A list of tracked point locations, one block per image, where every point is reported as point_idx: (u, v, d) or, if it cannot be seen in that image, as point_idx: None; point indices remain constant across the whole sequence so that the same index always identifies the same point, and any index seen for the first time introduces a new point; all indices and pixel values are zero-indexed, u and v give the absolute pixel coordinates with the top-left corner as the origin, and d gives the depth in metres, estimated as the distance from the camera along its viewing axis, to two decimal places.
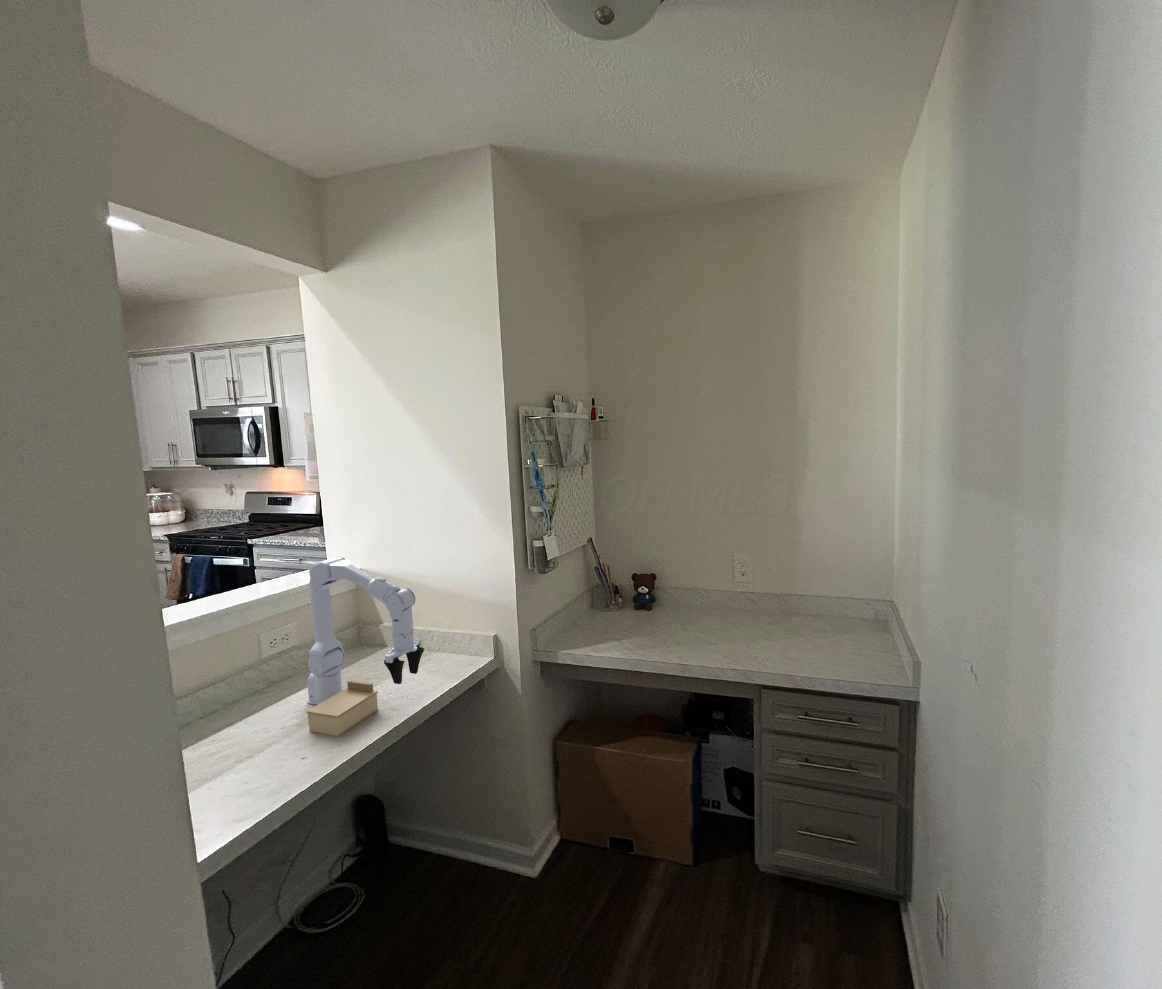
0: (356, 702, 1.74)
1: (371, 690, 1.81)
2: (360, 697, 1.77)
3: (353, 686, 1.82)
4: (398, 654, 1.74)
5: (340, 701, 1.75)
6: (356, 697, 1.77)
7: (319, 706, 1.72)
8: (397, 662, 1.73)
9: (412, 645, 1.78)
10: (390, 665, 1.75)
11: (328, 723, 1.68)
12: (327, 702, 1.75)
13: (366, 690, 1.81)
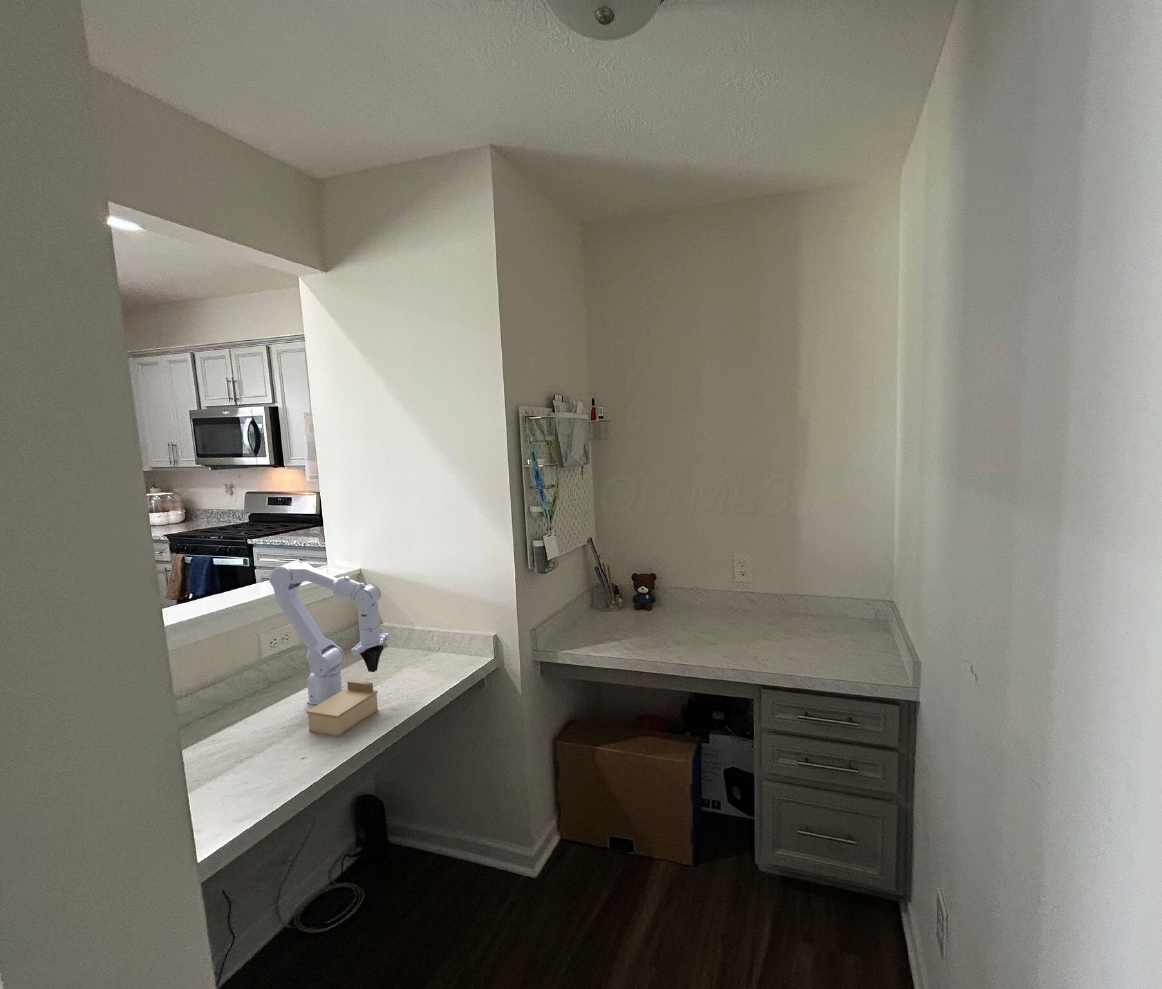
0: (356, 702, 1.74)
1: (371, 690, 1.81)
2: (360, 697, 1.77)
3: (353, 686, 1.82)
4: (364, 648, 1.81)
5: (340, 701, 1.75)
6: (356, 697, 1.77)
7: (319, 706, 1.72)
8: (371, 651, 1.84)
9: (378, 639, 1.85)
10: (364, 654, 1.86)
11: (328, 723, 1.68)
12: (327, 702, 1.75)
13: (366, 690, 1.81)
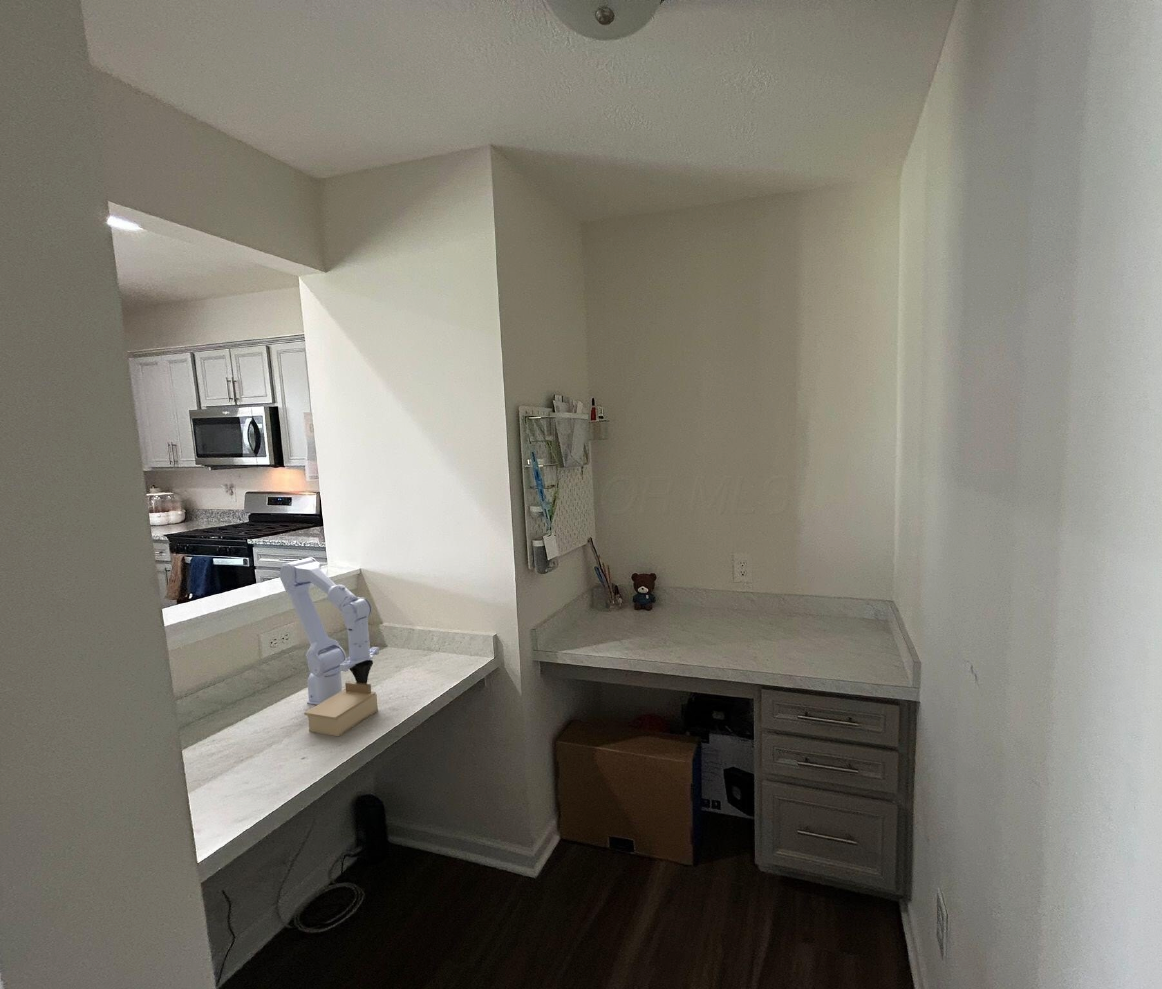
0: (354, 703, 1.73)
1: (369, 691, 1.80)
2: (358, 698, 1.76)
3: (351, 687, 1.81)
4: (353, 663, 1.77)
5: (338, 703, 1.74)
6: (354, 698, 1.77)
7: (317, 707, 1.71)
8: (360, 666, 1.80)
9: (368, 654, 1.81)
10: (354, 669, 1.81)
11: (328, 723, 1.68)
12: (325, 703, 1.74)
13: (364, 691, 1.80)
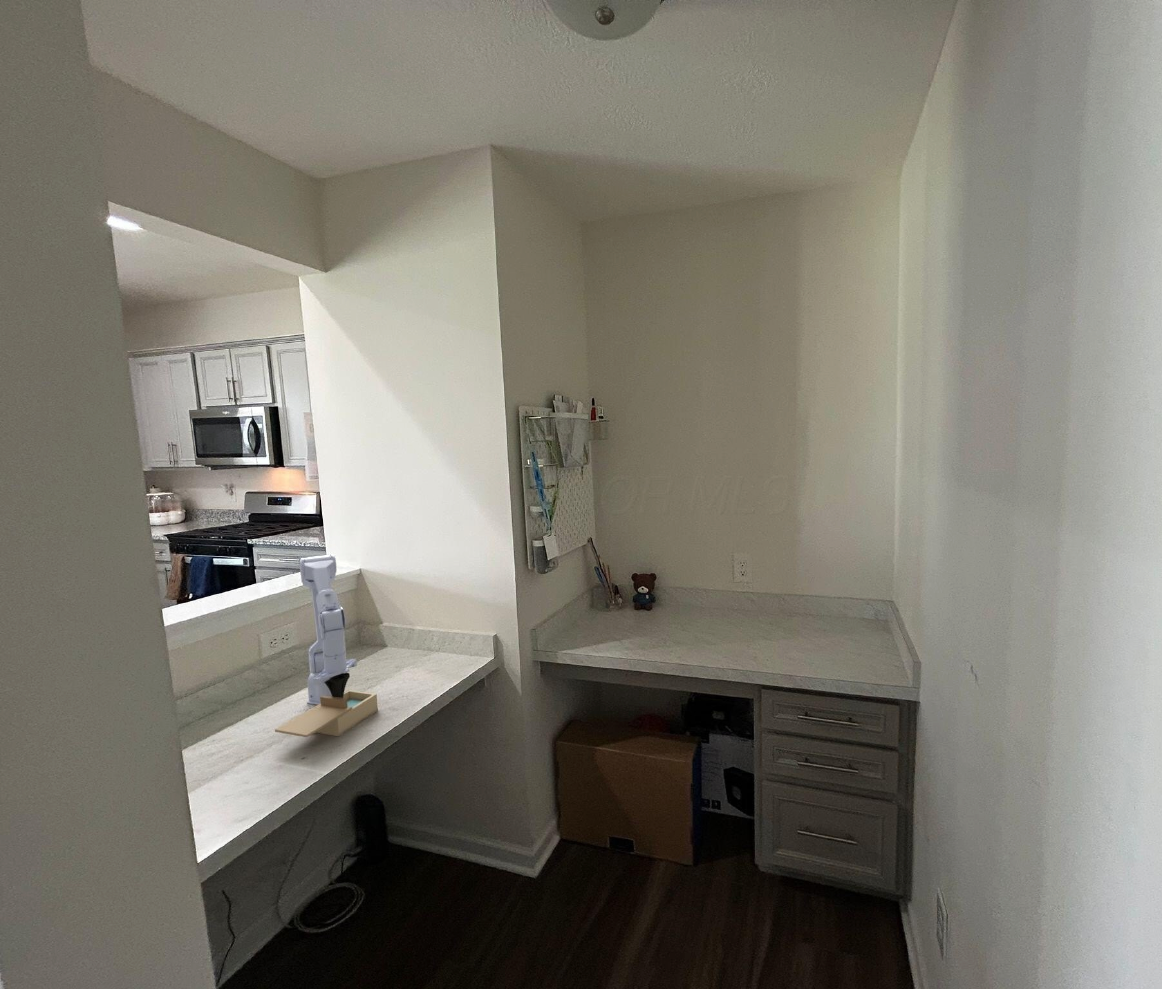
0: (328, 719, 1.64)
1: (345, 706, 1.71)
2: (333, 714, 1.67)
3: (326, 702, 1.72)
4: (328, 676, 1.68)
5: (312, 719, 1.65)
6: (329, 714, 1.67)
7: (288, 724, 1.62)
8: (336, 679, 1.71)
9: (344, 666, 1.72)
10: (329, 682, 1.72)
11: None
12: (297, 719, 1.65)
13: (340, 706, 1.71)
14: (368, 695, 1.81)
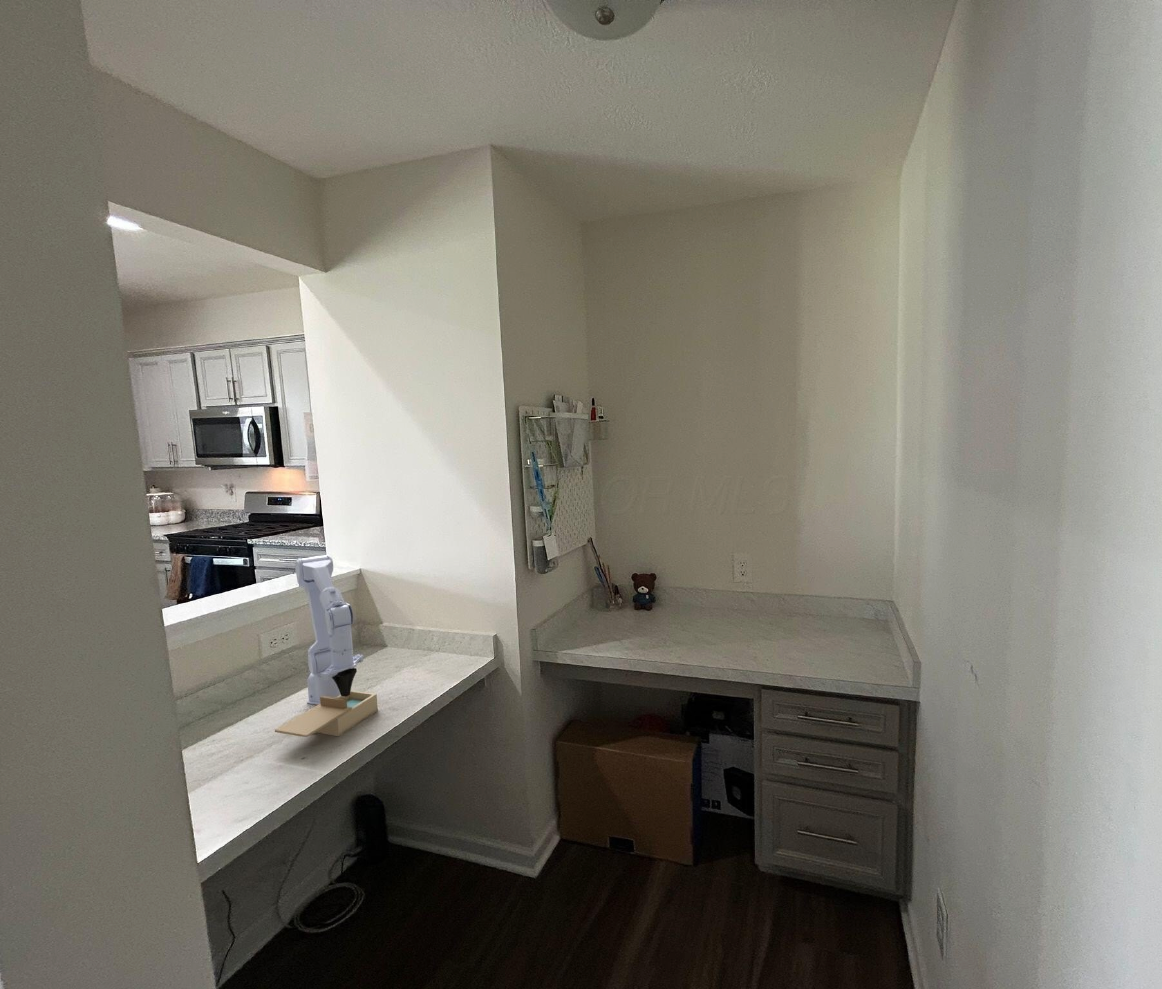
0: (328, 720, 1.64)
1: (345, 706, 1.71)
2: (333, 714, 1.67)
3: (326, 702, 1.72)
4: (335, 671, 1.71)
5: (311, 719, 1.65)
6: (328, 714, 1.67)
7: (288, 724, 1.62)
8: (343, 675, 1.73)
9: (351, 662, 1.75)
10: (337, 677, 1.75)
11: None
12: (297, 719, 1.65)
13: (340, 706, 1.71)
14: (368, 695, 1.81)
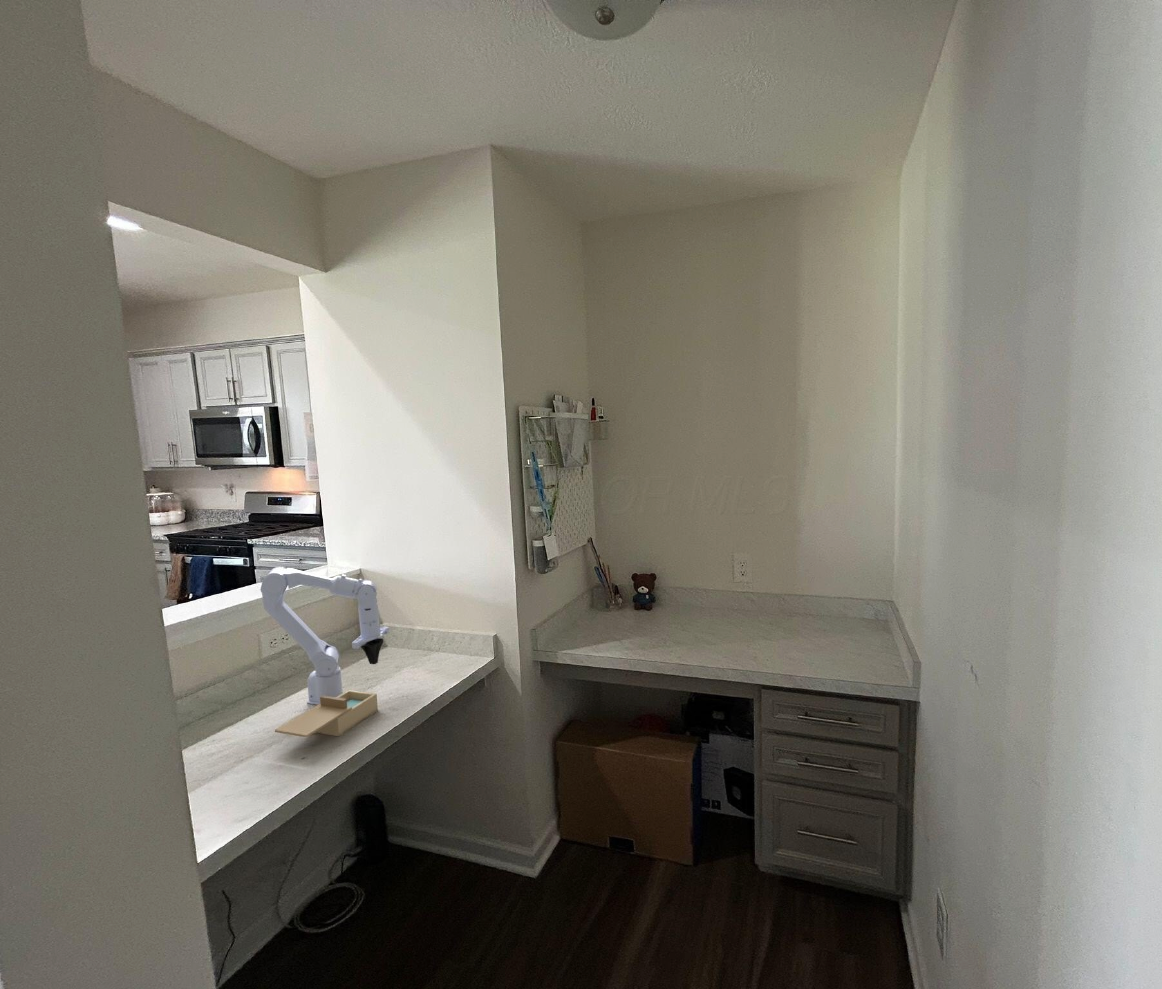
0: (328, 720, 1.64)
1: (345, 706, 1.71)
2: (333, 714, 1.67)
3: (326, 702, 1.72)
4: (364, 641, 1.87)
5: (311, 719, 1.65)
6: (328, 714, 1.67)
7: (288, 724, 1.62)
8: (371, 644, 1.90)
9: (378, 632, 1.91)
10: (365, 647, 1.91)
11: None
12: (297, 719, 1.65)
13: (340, 706, 1.71)
14: (368, 695, 1.81)
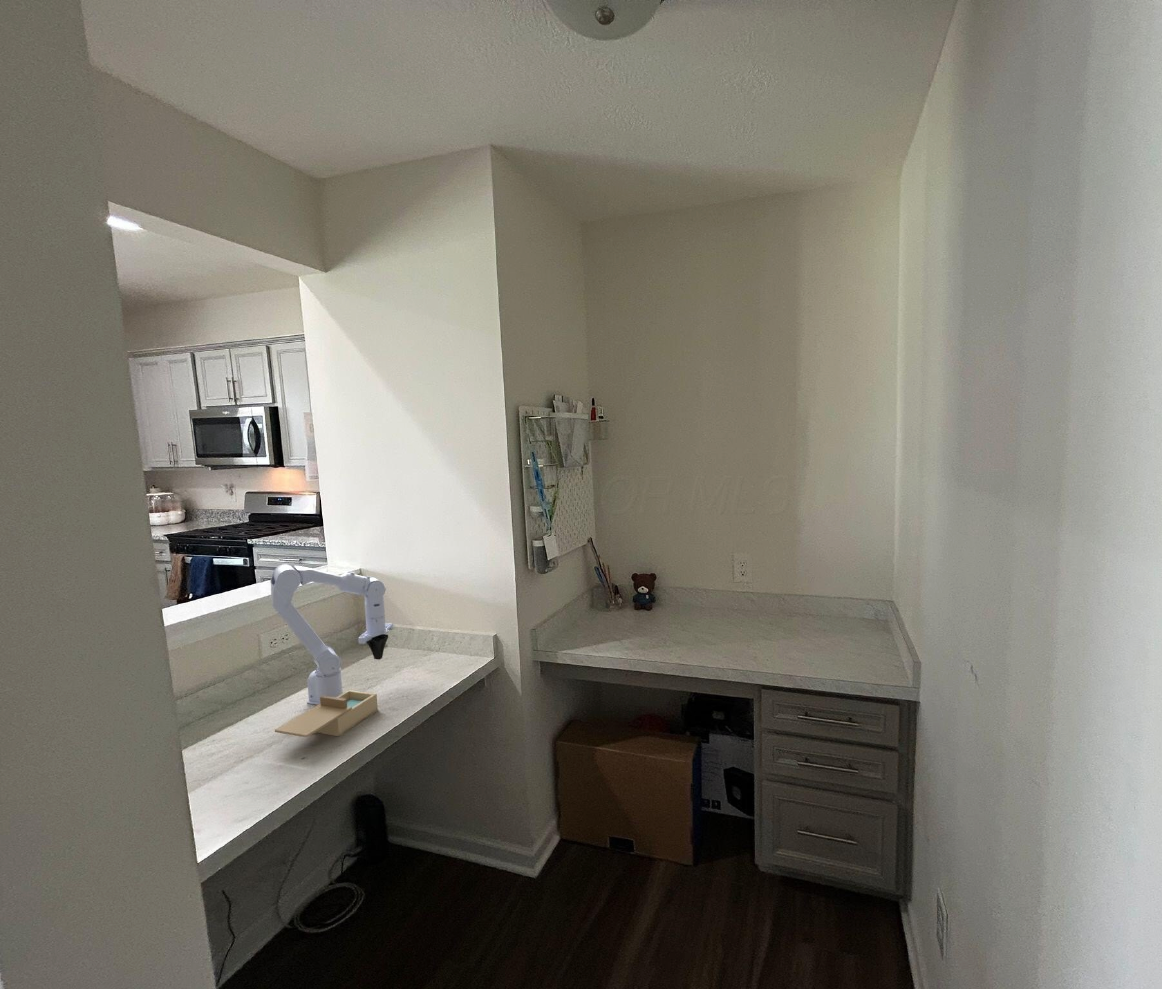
0: (328, 720, 1.64)
1: (345, 706, 1.71)
2: (333, 714, 1.67)
3: (326, 702, 1.72)
4: (370, 636, 1.92)
5: (311, 719, 1.65)
6: (328, 714, 1.67)
7: (288, 724, 1.62)
8: (377, 639, 1.94)
9: (383, 628, 1.96)
10: (371, 642, 1.96)
11: None
12: (297, 719, 1.65)
13: (340, 706, 1.71)
14: (368, 695, 1.81)
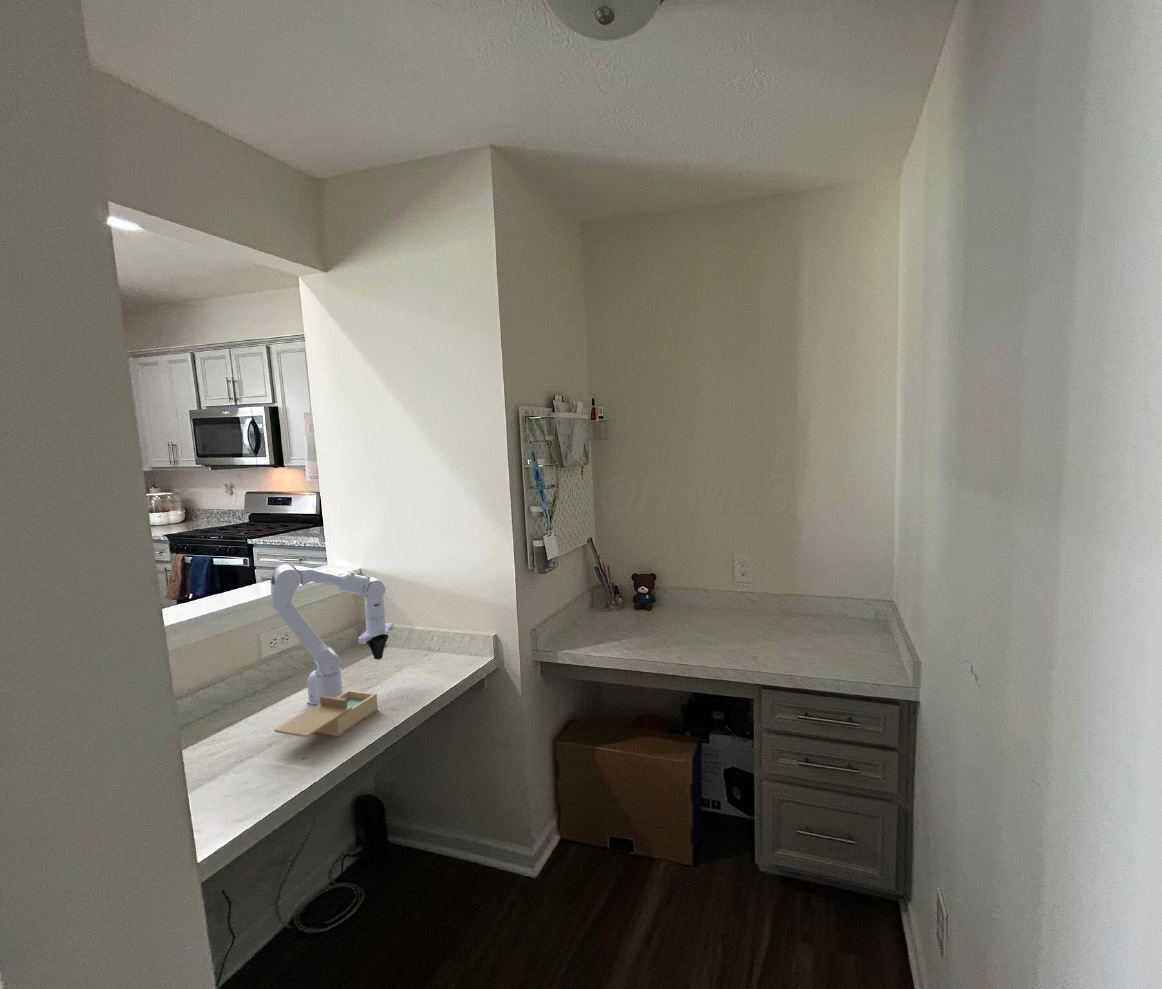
0: (328, 720, 1.64)
1: (345, 706, 1.71)
2: (333, 714, 1.67)
3: (326, 702, 1.72)
4: (370, 636, 1.92)
5: (311, 719, 1.65)
6: (328, 714, 1.67)
7: (288, 724, 1.62)
8: (377, 639, 1.94)
9: (383, 628, 1.96)
10: (371, 642, 1.96)
11: None
12: (297, 719, 1.65)
13: (340, 706, 1.71)
14: (368, 695, 1.81)
